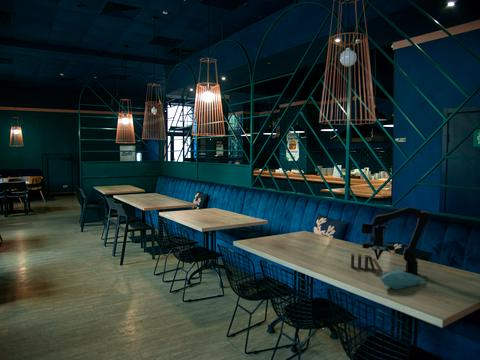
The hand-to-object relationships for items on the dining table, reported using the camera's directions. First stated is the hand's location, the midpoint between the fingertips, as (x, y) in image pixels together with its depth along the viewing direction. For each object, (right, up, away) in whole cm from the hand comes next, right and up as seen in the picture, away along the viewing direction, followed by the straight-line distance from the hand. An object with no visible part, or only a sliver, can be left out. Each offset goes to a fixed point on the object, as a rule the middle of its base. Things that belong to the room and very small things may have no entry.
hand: (377, 259), depth 228 cm
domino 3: (-6, -6, +2) cm, 9 cm away
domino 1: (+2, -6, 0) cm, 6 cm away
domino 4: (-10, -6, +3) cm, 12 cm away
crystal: (+3, -9, -29) cm, 30 cm away
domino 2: (-2, -6, +1) cm, 6 cm away
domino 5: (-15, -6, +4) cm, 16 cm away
